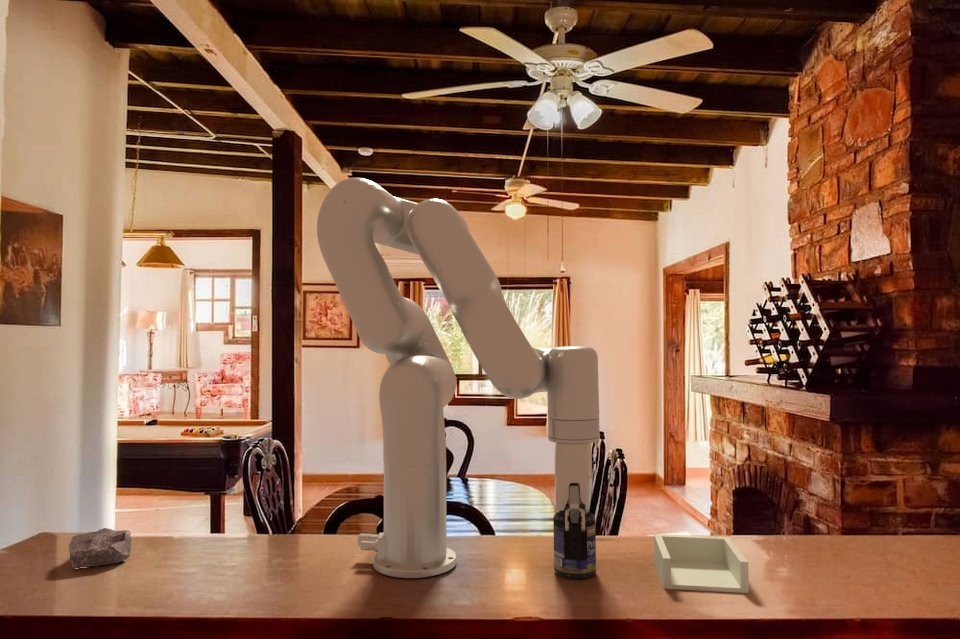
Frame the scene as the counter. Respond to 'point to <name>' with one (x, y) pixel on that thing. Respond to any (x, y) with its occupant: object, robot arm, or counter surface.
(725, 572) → the holder
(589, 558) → the pill bottle
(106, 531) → the rock
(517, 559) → the counter surface
